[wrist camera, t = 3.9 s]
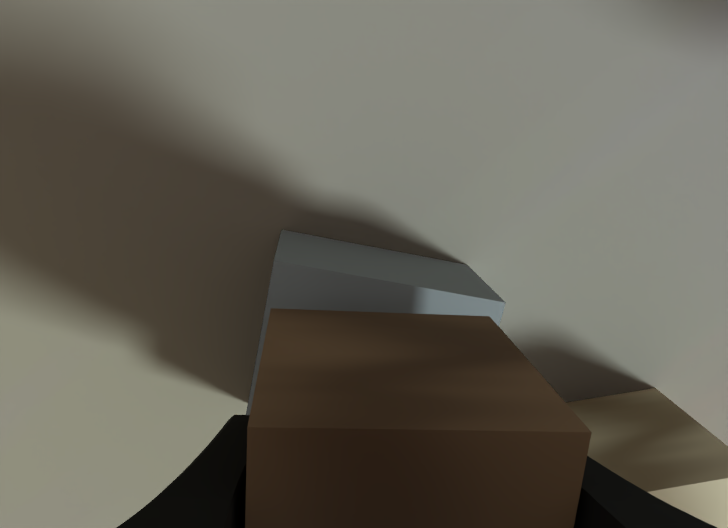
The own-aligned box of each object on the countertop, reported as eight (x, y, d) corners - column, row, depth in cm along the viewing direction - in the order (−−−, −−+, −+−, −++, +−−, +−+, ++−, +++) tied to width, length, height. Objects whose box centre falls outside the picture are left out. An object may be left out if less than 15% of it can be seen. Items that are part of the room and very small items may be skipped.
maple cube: (653, 387, 20) (759, 472, 16) (652, 505, 22) (750, 618, 17) (516, 409, 20) (580, 503, 15) (523, 528, 21) (585, 649, 17)
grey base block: (465, 263, 19) (505, 302, 15) (422, 426, 20) (448, 501, 16) (282, 228, 18) (273, 260, 14) (250, 401, 19) (235, 473, 15)
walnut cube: (489, 316, 13) (592, 432, 8) (464, 503, 15) (541, 697, 10) (270, 308, 13) (247, 427, 8) (264, 502, 14) (241, 707, 9)
